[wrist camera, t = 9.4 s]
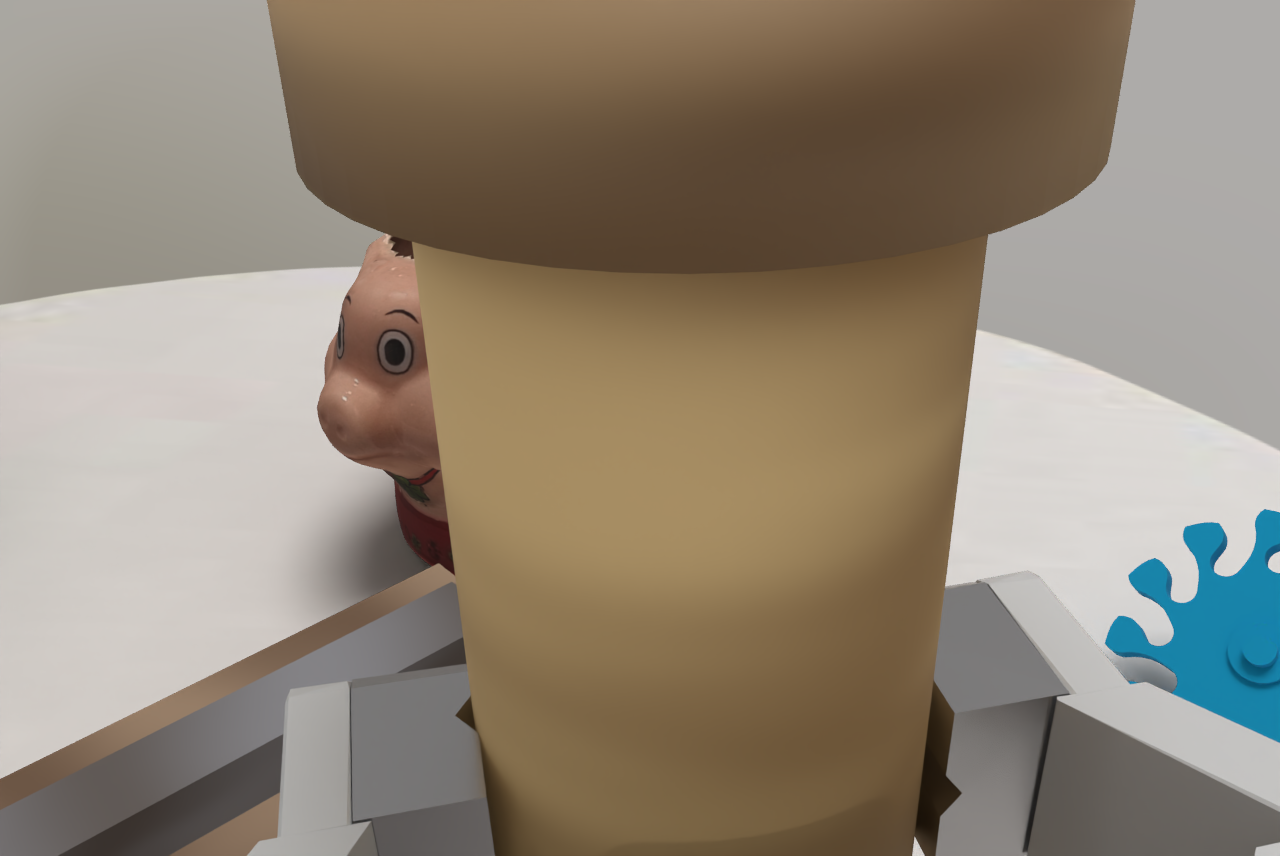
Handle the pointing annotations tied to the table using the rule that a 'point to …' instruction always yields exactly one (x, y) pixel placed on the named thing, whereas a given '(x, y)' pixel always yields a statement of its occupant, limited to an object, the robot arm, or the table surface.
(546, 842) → the tan cylinder
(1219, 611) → the gear
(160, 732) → the toolbox
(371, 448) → the pink ceramic mug
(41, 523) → the table surface
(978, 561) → the table surface
